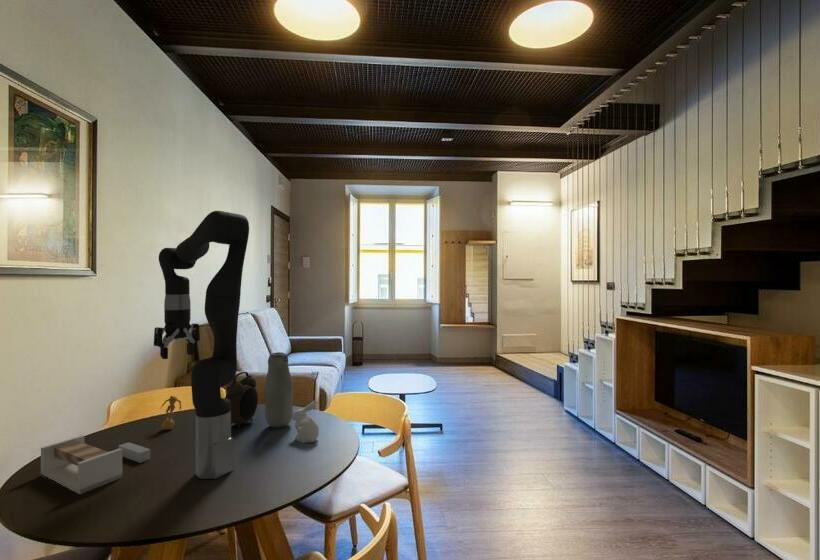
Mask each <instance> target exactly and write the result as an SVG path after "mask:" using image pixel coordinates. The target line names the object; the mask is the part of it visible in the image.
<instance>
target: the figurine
mask: <svg viewBox="0 0 820 560" xmlns="http://www.w3.org/2000/svg"><path fill="white" fill-rule="evenodd" d="M167 402H169V405H168V406H167V408H166V410H165V413H166V414H167V415H166V418H165V419H164V420H163V421H162V423H161V428H162V429H163V430H165V431H169V430H171V429H172V428H174V426H175V421H174V420H173V419H172V418H173V415H174V410H175V408H176V406H175V404H176V402H178V404H179V408H178V409H179V410H180V411H181V410H182V401H181V400H180V399H178V397H177V396H174V395H170V397H169V398H168V399H166V400H165V401H164V402H163V403H162V405H161V406H160V409H162V407H164V405H165V404H166V403H167Z"/></svg>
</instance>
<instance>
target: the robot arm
mask: <svg viewBox="0 0 820 560" xmlns="http://www.w3.org/2000/svg"><path fill="white" fill-rule="evenodd" d="M249 234H250V222H249V220H248V218H247V216H246V215H243V214H240V213H239V214H238V213H234V212H229V211H224V210H214V211H210V213H208V214H207V215H206V216H205V217H204V218H203V220H201V222H200V223H199V225H198V226H197V227H196V229H195V230H194V231H193V232H192V234H190V236H189V237H187V238H185V239H184V240H183V241H181V242H180V243H179V244H177V246H176V247H164V248H162V249H161V250H160V251H159V253H158V263H159V267H160V268H161V272H162V276H163V280H164V286H165V289H164V292H165V296H164V305H163V309H164V316H163V317H164V324H165V325H164V327H159V326H157V327H155V328H154V330H153V331H154V333H153V346H154V347H159V351H160V355H159V356H160V357H161V359H162V360H168V359H169V347H168V346H169V345H170V344H171V342H173V341H174V340H178V339H184V340H185V341H186V342H187V343H186V354H187V355H188V356H192V355H193V354H194V353H195V343H196V342H198V341H200V339H201V338H200V324H199V323H192V324H190V322H191V296H190V289H191V288H190V279H189V278H188V277H187V276H184V275H183V276H181V275H178V274H177V273H176V270H189V269H193V268H194V266H195V265H196V262H197V260H199V259H201V258H203V257H204V256H206V255H207V253H208V252H209V250H210V243H216V244H221V245H228V249H227V250H228V252H227V255H226V259H225V261H224V263H223V264H222V266H221V268H220V269H218V271H217V272H216V273H215V275H213V277H212V278H211V280H210V282H209V283H208V285H207V287H206V290H205V298H204V299H205V300H204V315H205V318H206V321H207V322H208V325H209V327H210V329H211V331H212V336H213V351H212V354H211V356H210V357H207V358H202V359H199V360H198V361H197V362H196V363H195V364H194V365H193V367H192V369H191V374H190V375H191V376H190V378H191V379H190V381H191V382H190V383H191V398H192V399H191V400H192V406H193V407H194V409H195V410H194V411H195V476H196V477H197V478H199V479H203V480H209V479H213V480H216V479H218V478H221V477H222V476H225V475H226V474H228V473H230V472H232V471H234V438H233V437H232V424H231V402H230V400H228V399H225V397H222V395H221V388H222V387H225V386H228V385H229V384H230V383H231V382H232V381H233V379H234V378H235V375H237V370H238V359H237V358H238V356H237V355H238V354H237V353H238V352H237V349H238V347H237V346H238V345H237V344H238V343H237V342H238V340H237V339H238V327H239V325H238V322H239V313H240V305H241V304H240V303H241V294H242V293H241V290H242V279H243V278H242V277H243V270H244V263H245V258H246V257H245V256H246V252H247V246H248V241H249V236H250V235H249ZM190 331H191V332H190ZM164 333H165V335H164V336H163V334H164Z"/></svg>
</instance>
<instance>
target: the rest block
mask: <svg viewBox="0 0 820 560" xmlns="http://www.w3.org/2000/svg"><path fill="white" fill-rule="evenodd" d="M119 448H121V449H122V458H125V459H128V460H131V461H134V462H137V463H140V464H141V463H144V462H147V461H149V460H151V449H150V448H147V447H145V446H141V445H139V444H135V443H132V442H126V443H122V444H119V445H118V448H117V449H119Z"/></svg>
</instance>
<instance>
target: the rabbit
mask: <svg viewBox="0 0 820 560" xmlns="http://www.w3.org/2000/svg"><path fill="white" fill-rule="evenodd" d="M317 404H318V401H317V400H313V401H311V403H309V404H308V405H305V407H304V408H299V409H296V410H295V411H294V412H293V414H292V419H291V420H292V421H295V424H294V425H295V427H294V428H295V430H296V432H297V435H295V439H296V441H297V442H300V443H302V444H306V443H307V444H308V443H311V444H312V443H314V442H316V441H317V439H318V437H319V432H320V431H319V429H320V427H319V425H318V423H317V422H316V420H315V419H313V418H312V417H310V416H308V415H307V412H311V411H314V409H315V408H316V406H317Z"/></svg>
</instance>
